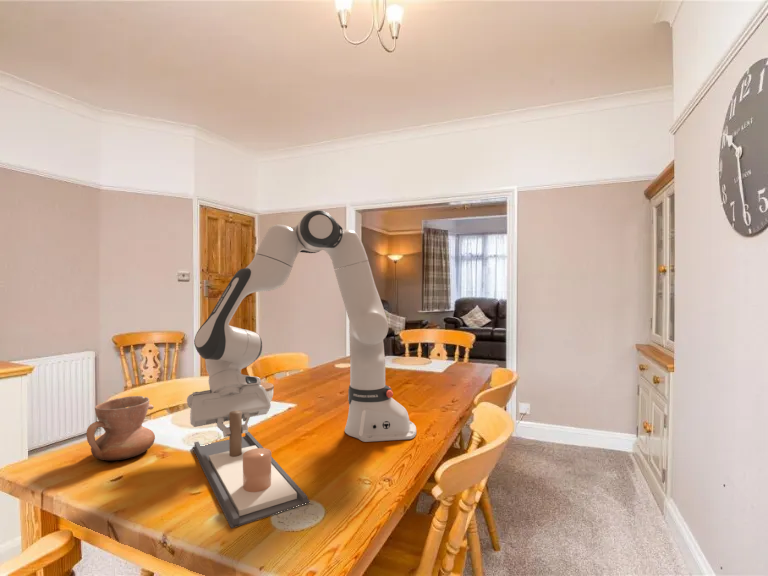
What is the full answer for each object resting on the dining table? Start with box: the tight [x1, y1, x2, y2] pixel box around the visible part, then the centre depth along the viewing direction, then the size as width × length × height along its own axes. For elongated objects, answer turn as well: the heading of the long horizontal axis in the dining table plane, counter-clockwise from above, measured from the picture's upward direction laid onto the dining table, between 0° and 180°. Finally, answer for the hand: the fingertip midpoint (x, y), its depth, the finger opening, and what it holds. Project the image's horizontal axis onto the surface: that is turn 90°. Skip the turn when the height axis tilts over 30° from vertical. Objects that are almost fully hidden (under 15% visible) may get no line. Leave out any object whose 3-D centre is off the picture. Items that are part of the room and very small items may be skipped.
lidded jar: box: [260, 381, 275, 403], centre depth 151 cm, size 11×11×9 cm
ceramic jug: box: [86, 395, 156, 461], centre depth 109 cm, size 18×14×14 cm
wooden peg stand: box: [209, 410, 297, 516], centre depth 95 cm, size 30×12×12 cm, turn 34°
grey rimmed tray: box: [192, 431, 310, 529], centre depth 100 cm, size 44×16×2 cm, turn 34°
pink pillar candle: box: [243, 447, 272, 492], centre depth 90 cm, size 6×6×7 cm
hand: (236, 433), depth 105 cm, fingers closed on wooden peg stand, 3 cm apart
